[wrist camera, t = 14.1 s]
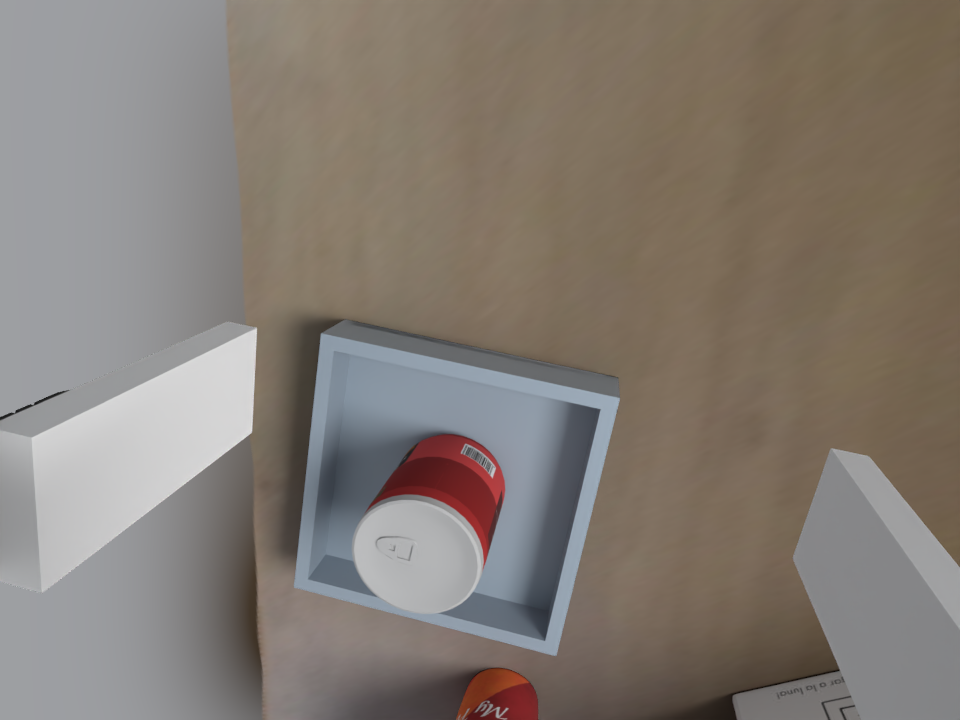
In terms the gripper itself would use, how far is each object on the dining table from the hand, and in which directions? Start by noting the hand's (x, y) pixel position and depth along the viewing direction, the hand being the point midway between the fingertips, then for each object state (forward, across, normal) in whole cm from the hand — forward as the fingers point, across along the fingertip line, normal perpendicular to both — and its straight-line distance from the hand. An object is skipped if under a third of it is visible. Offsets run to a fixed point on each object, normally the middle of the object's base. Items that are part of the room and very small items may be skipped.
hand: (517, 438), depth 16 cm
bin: (+31, -6, -18) cm, 37 cm away
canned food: (+30, -6, -18) cm, 36 cm away
